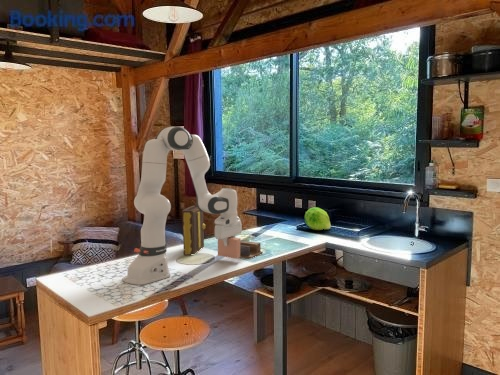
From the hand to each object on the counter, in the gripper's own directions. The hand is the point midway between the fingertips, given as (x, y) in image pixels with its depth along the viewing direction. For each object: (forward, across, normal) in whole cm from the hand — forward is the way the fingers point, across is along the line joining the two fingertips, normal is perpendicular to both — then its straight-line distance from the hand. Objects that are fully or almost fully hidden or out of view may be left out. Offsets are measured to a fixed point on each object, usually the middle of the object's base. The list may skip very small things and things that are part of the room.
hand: (228, 244), depth 216 cm
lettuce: (+7, -95, +10) cm, 95 cm away
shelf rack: (+8, -15, 0) cm, 17 cm away
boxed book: (+6, 0, 0) cm, 6 cm away
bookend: (+7, -10, 0) cm, 13 cm away
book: (+9, -8, -30) cm, 32 cm away
